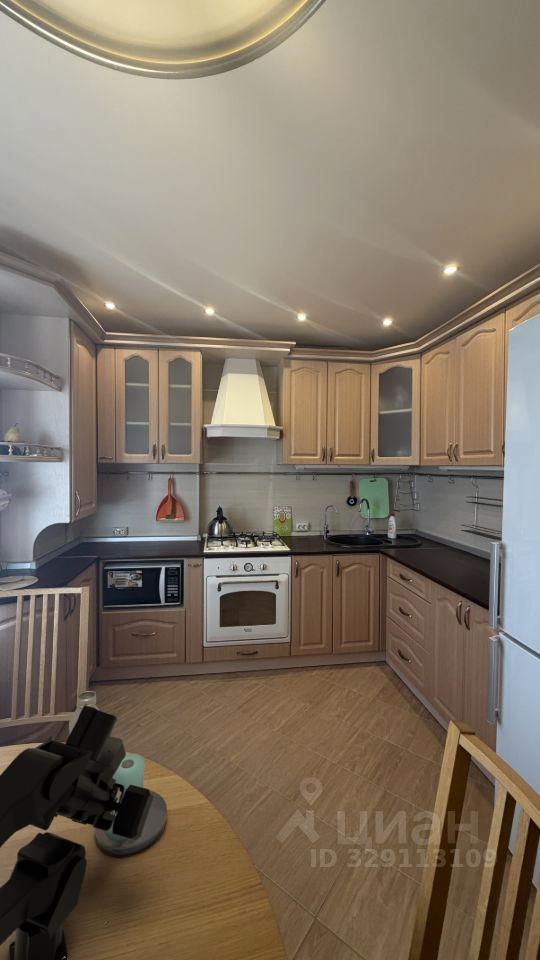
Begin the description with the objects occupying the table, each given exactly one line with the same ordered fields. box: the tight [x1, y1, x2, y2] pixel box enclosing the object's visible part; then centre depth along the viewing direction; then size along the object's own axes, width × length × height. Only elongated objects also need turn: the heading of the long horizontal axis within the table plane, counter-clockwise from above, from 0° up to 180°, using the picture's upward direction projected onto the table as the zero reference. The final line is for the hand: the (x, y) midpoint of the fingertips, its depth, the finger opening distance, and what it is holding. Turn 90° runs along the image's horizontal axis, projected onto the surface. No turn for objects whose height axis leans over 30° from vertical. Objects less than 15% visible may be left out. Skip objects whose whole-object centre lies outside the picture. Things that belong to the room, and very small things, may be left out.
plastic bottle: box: [68, 690, 101, 734], centre depth 85 cm, size 6×7×20 cm
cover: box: [104, 753, 145, 841], centre depth 74 cm, size 7×7×11 cm
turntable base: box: [95, 826, 165, 858], centre depth 76 cm, size 12×12×1 cm
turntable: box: [94, 790, 168, 851], centre depth 76 cm, size 13×13×1 cm
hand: (115, 809), depth 71 cm, fingers closed
